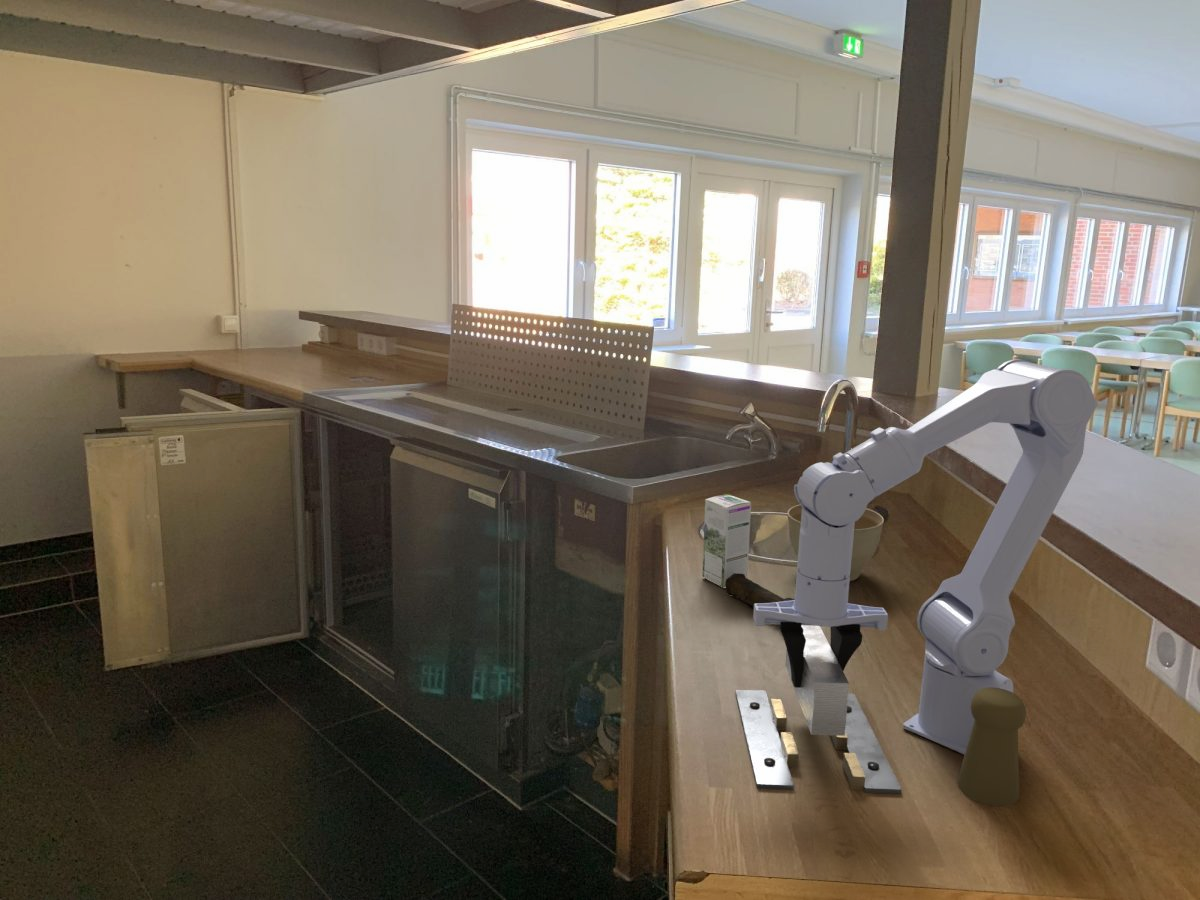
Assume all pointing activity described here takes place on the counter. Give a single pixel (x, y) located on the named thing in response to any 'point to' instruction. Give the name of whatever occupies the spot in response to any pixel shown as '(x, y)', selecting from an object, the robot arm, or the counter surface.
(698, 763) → the counter surface
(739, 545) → the syrup box
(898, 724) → the counter surface
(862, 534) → the planter bowl
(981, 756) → the cork
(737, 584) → the brown wooden log
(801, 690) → the aluminum bar stock
